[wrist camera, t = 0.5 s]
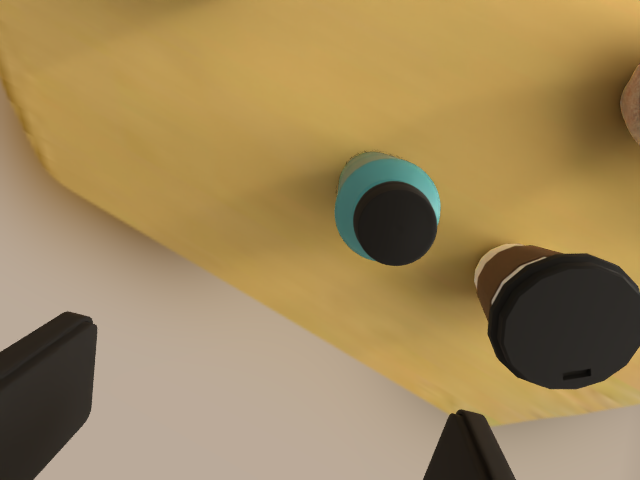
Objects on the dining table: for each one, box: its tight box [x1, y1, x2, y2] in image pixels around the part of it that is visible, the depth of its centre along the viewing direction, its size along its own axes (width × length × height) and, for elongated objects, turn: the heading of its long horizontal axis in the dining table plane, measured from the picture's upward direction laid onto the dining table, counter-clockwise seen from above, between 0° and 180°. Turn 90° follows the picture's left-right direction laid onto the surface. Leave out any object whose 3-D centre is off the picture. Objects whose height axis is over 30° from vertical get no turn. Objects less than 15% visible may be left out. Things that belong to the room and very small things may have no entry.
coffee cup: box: [474, 244, 640, 389], centre depth 33 cm, size 11×11×12 cm
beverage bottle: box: [335, 150, 441, 266], centre depth 27 cm, size 6×7×20 cm
